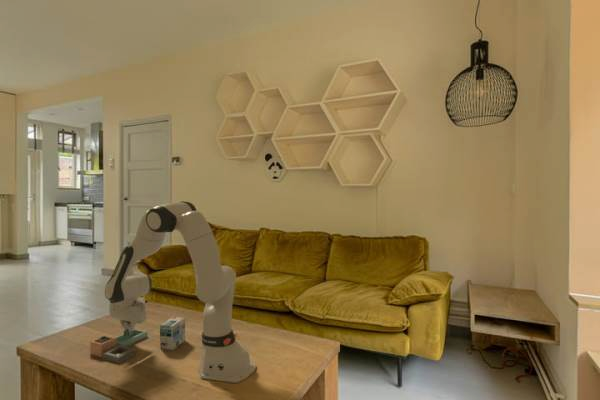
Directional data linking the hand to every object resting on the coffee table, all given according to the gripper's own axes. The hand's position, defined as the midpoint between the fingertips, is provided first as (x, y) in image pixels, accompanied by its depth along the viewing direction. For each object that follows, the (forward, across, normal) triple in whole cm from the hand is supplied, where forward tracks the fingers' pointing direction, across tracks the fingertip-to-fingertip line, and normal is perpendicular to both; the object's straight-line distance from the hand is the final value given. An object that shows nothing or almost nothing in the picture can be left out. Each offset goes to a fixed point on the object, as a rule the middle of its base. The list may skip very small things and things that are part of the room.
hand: (128, 329), depth 154 cm
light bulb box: (+6, -20, -7) cm, 22 cm away
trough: (+6, 0, 0) cm, 6 cm away
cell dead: (+5, 0, +12) cm, 13 cm away
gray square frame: (+6, -9, +12) cm, 16 cm away
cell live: (+2, 0, 0) cm, 2 cm away
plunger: (+5, -9, +12) cm, 16 cm away
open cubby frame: (+6, 0, +12) cm, 13 cm away
